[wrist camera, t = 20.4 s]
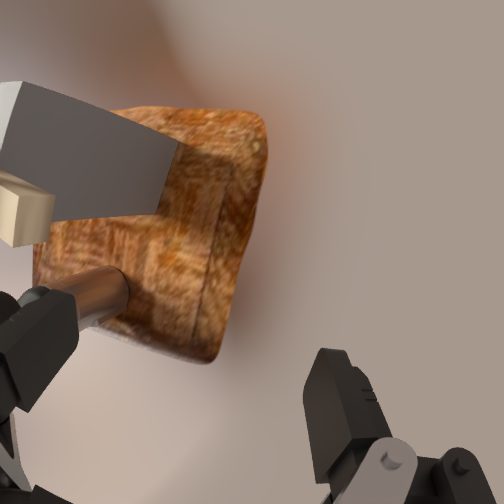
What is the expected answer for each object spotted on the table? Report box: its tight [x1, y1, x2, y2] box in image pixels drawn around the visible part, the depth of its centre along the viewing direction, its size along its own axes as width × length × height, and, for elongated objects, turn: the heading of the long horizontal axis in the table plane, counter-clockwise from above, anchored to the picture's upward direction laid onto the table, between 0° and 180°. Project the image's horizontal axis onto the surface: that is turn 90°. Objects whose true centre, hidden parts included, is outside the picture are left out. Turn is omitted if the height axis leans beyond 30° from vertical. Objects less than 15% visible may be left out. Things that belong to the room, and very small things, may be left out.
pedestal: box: [0, 81, 179, 222], centre depth 32 cm, size 10×13×32 cm
